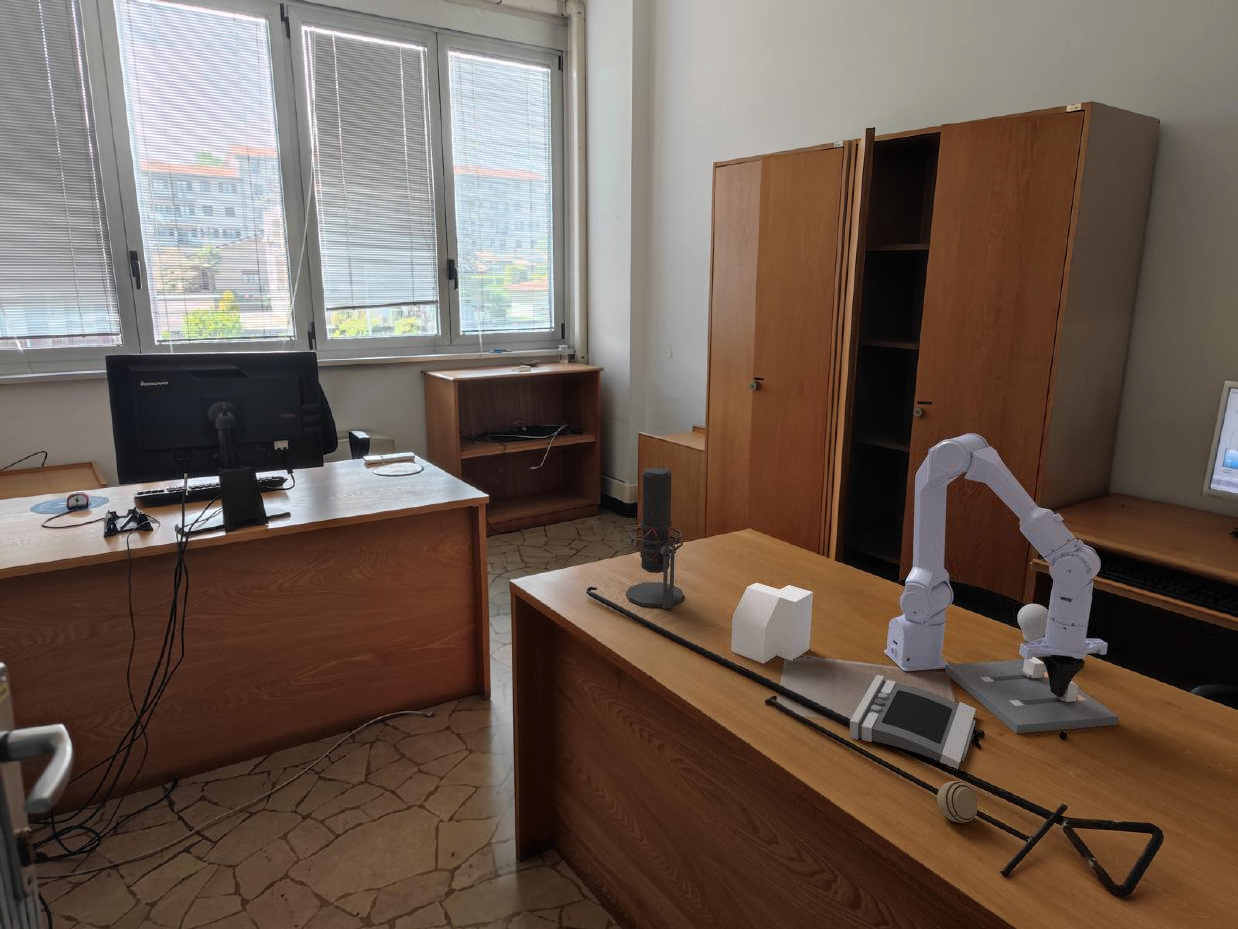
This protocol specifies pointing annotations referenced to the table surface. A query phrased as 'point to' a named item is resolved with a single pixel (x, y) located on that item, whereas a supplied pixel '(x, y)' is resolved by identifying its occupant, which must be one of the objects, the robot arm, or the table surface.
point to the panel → (1027, 698)
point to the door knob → (957, 801)
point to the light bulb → (1033, 622)
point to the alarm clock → (914, 721)
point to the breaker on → (1033, 668)
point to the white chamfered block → (772, 623)
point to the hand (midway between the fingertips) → (1056, 694)
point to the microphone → (656, 542)
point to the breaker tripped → (1070, 693)
